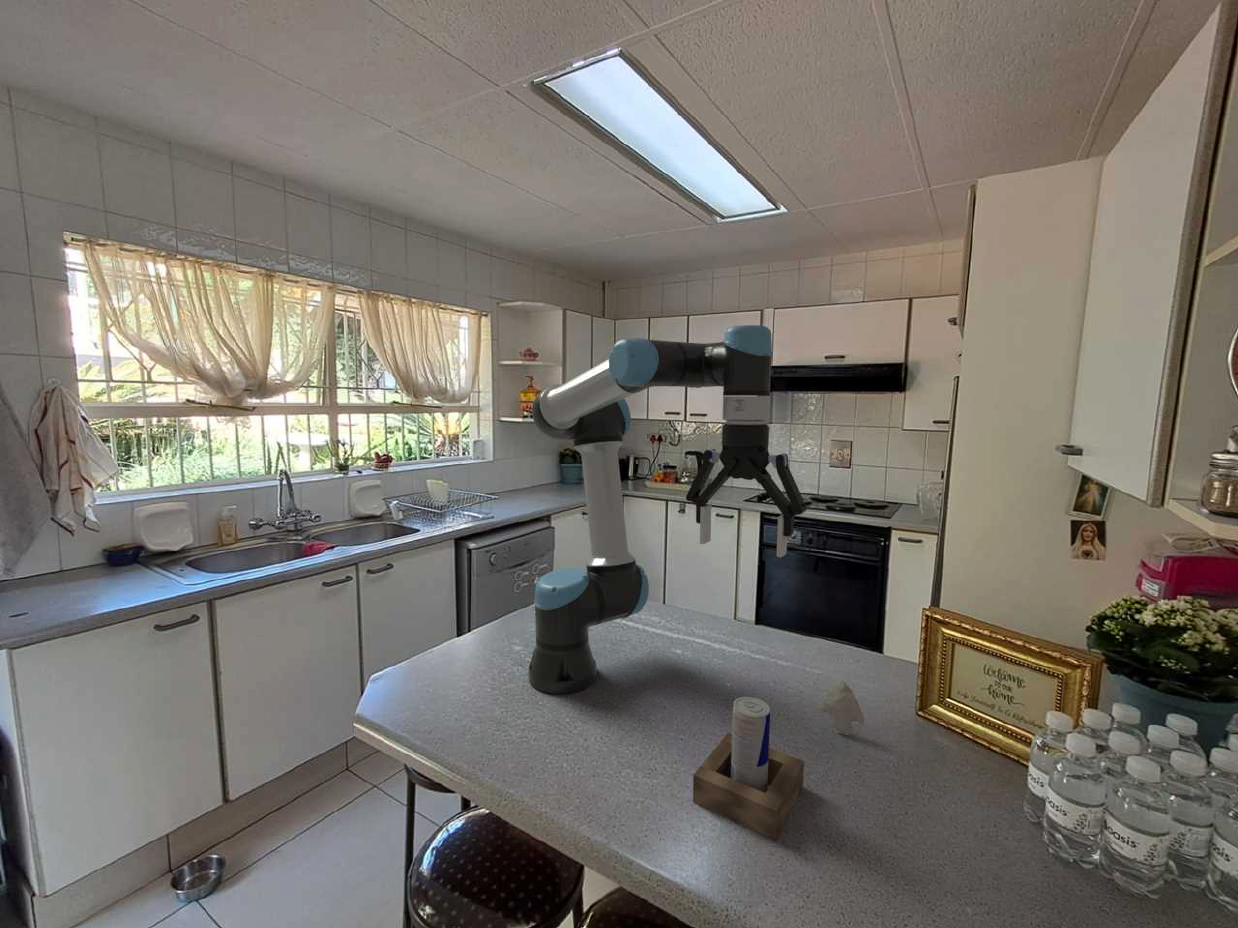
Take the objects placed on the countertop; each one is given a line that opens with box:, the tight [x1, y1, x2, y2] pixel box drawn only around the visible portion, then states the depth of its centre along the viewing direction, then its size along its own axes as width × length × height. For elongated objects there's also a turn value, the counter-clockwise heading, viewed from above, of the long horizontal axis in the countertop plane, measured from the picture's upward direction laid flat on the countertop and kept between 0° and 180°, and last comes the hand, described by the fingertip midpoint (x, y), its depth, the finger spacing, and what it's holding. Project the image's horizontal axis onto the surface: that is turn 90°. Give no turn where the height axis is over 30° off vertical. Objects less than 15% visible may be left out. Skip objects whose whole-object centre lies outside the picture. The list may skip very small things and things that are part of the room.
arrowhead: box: [819, 679, 865, 737], centre depth 102 cm, size 8×3×10 cm, turn 54°
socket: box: [692, 732, 805, 841], centre depth 86 cm, size 13×13×4 cm
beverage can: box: [730, 696, 771, 793], centre depth 85 cm, size 6×6×15 cm
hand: (741, 548), depth 93 cm, fingers open, 13 cm apart
